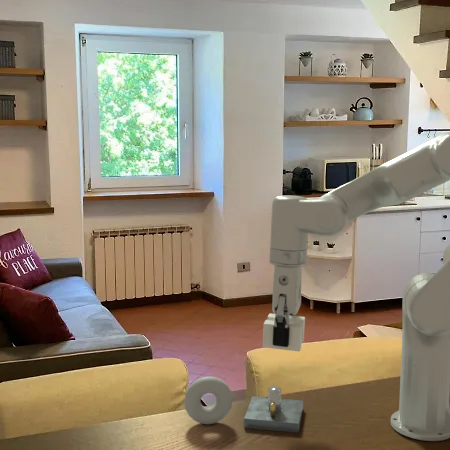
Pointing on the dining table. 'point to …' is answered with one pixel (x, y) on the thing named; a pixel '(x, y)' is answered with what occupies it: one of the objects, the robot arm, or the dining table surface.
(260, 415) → the post base
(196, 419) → the donut
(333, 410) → the dining table surface
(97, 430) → the dining table surface
